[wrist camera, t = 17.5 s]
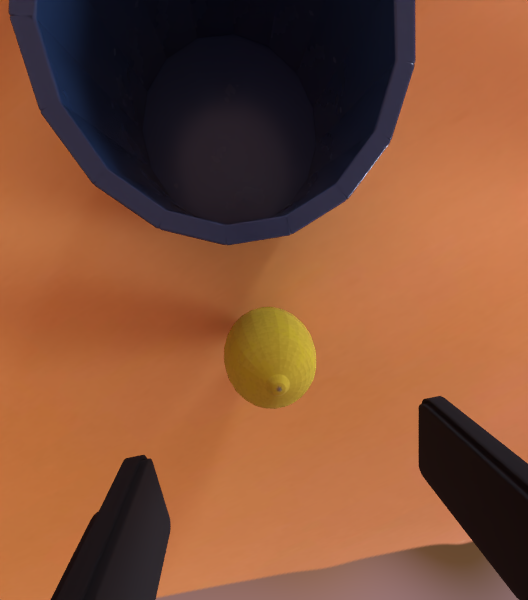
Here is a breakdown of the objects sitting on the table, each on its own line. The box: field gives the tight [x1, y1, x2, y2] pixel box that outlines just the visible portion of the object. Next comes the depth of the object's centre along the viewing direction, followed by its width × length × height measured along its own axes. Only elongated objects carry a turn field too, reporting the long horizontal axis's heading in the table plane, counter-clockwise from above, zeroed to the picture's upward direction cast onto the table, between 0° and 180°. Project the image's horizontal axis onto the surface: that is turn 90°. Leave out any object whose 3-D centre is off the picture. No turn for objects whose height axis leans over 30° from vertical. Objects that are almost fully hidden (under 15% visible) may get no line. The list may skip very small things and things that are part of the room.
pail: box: [9, 0, 415, 245], centre depth 13 cm, size 12×12×10 cm
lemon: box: [224, 307, 316, 409], centre depth 17 cm, size 6×6×8 cm
